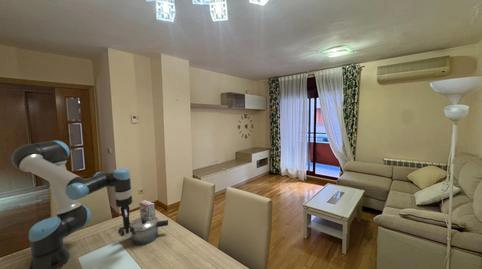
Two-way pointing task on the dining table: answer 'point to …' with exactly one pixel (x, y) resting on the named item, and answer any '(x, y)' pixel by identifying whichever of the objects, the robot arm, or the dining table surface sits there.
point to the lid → (142, 224)
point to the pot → (146, 234)
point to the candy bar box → (147, 208)
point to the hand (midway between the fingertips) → (127, 237)
